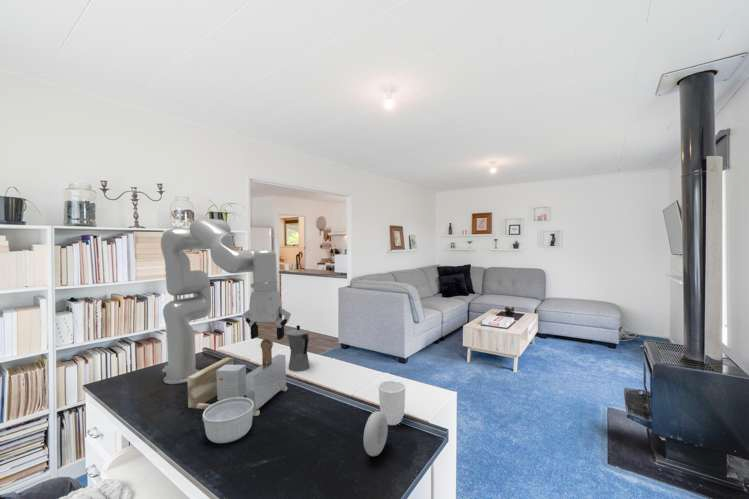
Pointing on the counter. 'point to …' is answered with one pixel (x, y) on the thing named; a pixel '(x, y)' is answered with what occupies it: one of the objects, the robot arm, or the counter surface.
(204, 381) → the frame
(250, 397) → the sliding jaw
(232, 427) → the ramekin
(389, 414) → the white cup
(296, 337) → the coffeepot
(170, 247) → the robot arm
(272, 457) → the counter surface
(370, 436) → the light grey round disc
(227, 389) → the small box
